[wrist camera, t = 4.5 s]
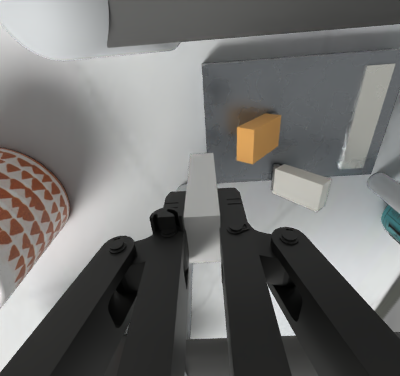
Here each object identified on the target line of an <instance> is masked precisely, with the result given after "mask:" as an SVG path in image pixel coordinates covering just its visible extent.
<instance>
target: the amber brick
mask: <svg viewBox="0 0 400 376" xmlns="http://www.w3.org/2000/svg"><path fill="white" fill-rule="evenodd" d="M280 124H281V115H279V113H276V112H274V113H271V114H267V113H265V114H263V115H261V116H259V117H257V118H255V119H253V120H251V121H249V122H247V123H245V124H242V125H240V126H238V127H237V161H241V162H245V163H249V164H254V163H255V162H257V161H258V160H260V159H261V158H262V157H264V156H265V155H266V154H268V153H269V152H271V151H272V150H273V149H275V148H276V147H277V146H278V143H279V134H280Z"/></svg>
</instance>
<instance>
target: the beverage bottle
mask: <svg viewBox="0 0 400 376" xmlns="http://www.w3.org/2000/svg"><path fill="white" fill-rule="evenodd" d="M381 221H382V224H383V226H384V228H385V229H386V231H388V232H389V234H390V236H392V238H393V239H395V240H396V241H397V242H398V241H399V242H400V214H399V213H398V212H397V211H396V210H395V209H393V208H392V207H391V206H390V205H388V206H387V207H386V209H385V210H384V212H383V214H382V217H381ZM388 232H387V233H388ZM399 242H398V243H399ZM399 244H400V243H399Z"/></svg>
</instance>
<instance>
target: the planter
mask: <svg viewBox="0 0 400 376" xmlns="http://www.w3.org/2000/svg"><path fill="white" fill-rule="evenodd" d="M69 213H70V205H69V199H68V196H67V194H66V191H65V189H64V188H63V186H62V184H61V183H60V182H59V180H58V179H57V178H56V177H55V176H54V175H53V174H52V173H51V172H50V171H49V170H48V169H47V168H46V167H45V166H43V165H42V164H40V163H39V162H37V161H36V160H34V159H32V158H31V157H29V156H26V155H24V154H22V153H19V152H17V151H13V150H10V149H5V148H0V308H1V307H2V306H3V305H4V304H5V303H6V301H7V300H8V299H9V297H10V296H11V295H12V293H13V292H14V291H15V289H16V288H17V287H18V286H19V284H20V283H21V282H22V280H23V279H24V278H25V276H26V275H27V274H28V272H29V271H30V270H31V269H32V267H33V266H34V265H35V263H36V262H37V261H38V259H39V258H40V257H41V255H42V254H43V253H44V251H45V250H46V249H47V248H48V246H49V245H50V244H51V242H52V241H53V240H54V238H55V237H56V236H57V234H58V233H59V232H60V231H61V229H62V228H63V227H64V225H65V224H66V222H67V220H68V217H69Z"/></svg>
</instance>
